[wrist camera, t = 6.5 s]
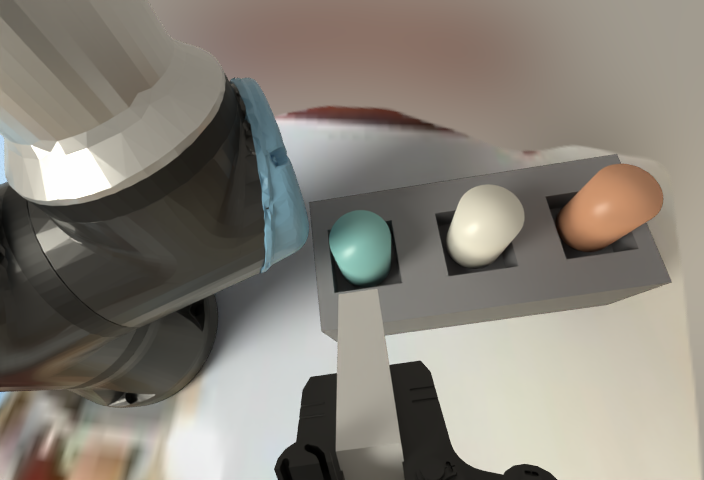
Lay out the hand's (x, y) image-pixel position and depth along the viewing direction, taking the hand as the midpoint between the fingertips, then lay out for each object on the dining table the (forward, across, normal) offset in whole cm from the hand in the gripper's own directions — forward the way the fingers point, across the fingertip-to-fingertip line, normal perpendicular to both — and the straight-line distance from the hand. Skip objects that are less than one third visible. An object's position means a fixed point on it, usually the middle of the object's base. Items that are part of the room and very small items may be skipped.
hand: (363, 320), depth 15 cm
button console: (+22, +9, -11) cm, 26 cm away
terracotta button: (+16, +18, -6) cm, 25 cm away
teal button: (+17, 0, -6) cm, 18 cm away
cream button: (+16, +9, -6) cm, 19 cm away
